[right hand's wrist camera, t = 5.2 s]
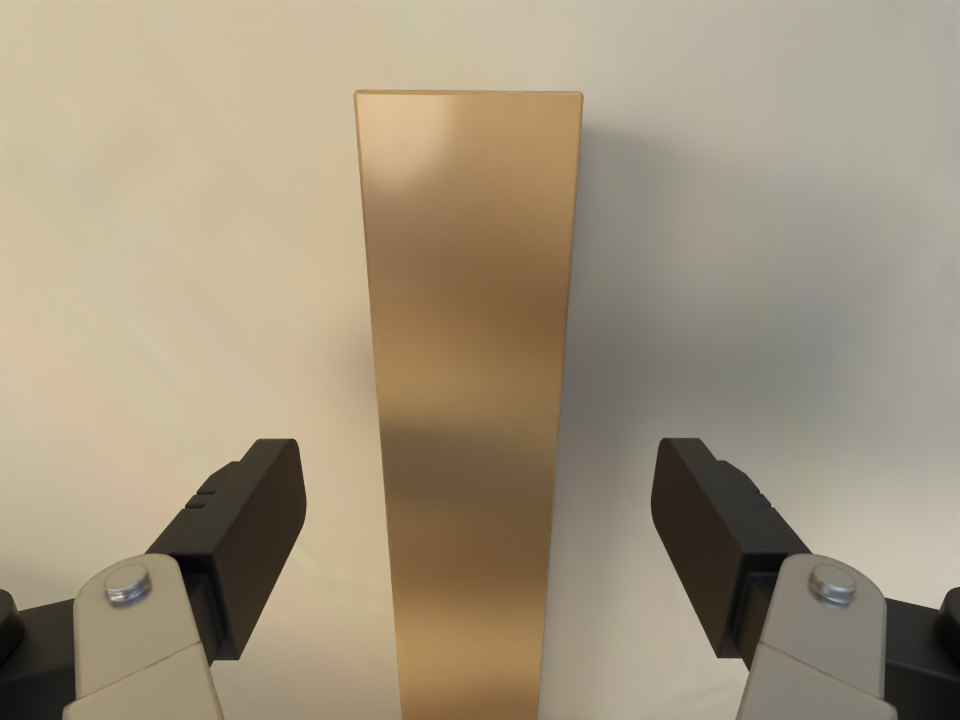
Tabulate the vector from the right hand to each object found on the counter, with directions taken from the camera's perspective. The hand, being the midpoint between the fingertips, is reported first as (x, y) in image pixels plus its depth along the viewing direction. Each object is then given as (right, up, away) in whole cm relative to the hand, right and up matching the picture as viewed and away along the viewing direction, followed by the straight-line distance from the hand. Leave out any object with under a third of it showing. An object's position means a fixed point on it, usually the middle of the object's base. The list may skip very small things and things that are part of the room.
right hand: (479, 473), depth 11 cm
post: (0, -13, +16) cm, 20 cm away
